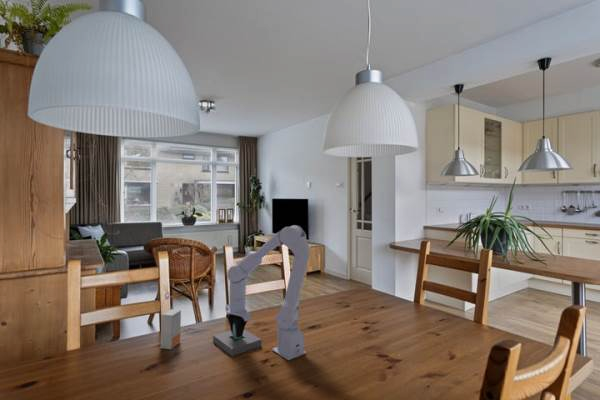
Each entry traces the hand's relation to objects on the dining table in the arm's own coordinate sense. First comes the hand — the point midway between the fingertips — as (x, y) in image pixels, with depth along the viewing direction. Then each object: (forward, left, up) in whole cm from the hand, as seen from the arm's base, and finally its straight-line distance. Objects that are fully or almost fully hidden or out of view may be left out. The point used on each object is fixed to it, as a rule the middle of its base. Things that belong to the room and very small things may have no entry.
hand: (237, 334), depth 119 cm
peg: (0, 0, -2) cm, 2 cm away
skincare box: (+14, +19, -4) cm, 24 cm away
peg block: (0, 0, -3) cm, 3 cm away
